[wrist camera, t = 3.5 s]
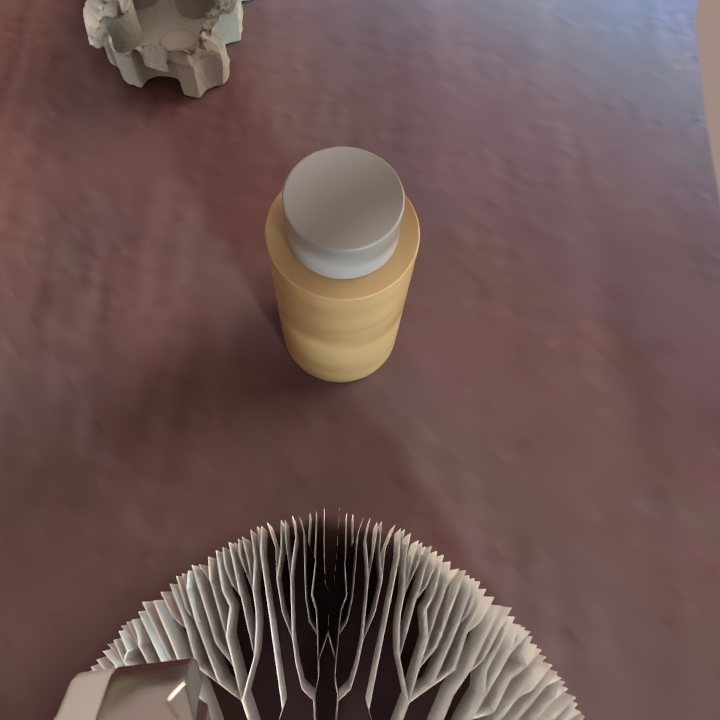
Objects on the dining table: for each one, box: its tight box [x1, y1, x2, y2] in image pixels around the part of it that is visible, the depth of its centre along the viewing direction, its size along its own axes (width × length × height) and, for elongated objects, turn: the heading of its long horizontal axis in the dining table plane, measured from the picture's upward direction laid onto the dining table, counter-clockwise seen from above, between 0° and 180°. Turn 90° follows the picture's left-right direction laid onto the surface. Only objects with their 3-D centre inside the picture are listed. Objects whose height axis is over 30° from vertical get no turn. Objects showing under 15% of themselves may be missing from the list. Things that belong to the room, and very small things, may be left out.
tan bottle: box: [265, 147, 420, 382], centre depth 25 cm, size 6×6×11 cm
